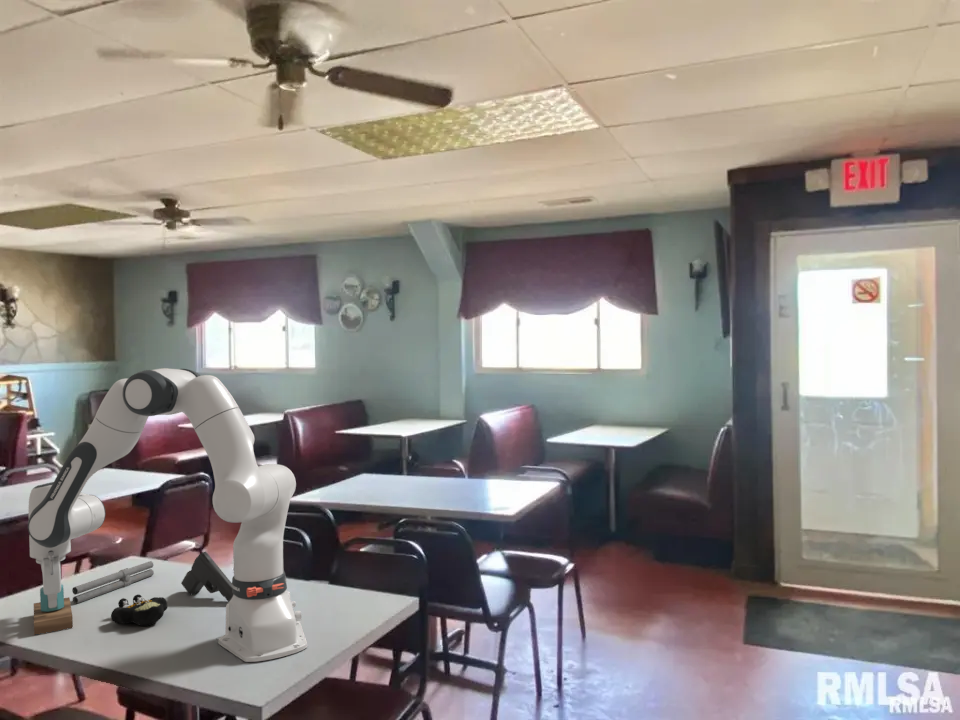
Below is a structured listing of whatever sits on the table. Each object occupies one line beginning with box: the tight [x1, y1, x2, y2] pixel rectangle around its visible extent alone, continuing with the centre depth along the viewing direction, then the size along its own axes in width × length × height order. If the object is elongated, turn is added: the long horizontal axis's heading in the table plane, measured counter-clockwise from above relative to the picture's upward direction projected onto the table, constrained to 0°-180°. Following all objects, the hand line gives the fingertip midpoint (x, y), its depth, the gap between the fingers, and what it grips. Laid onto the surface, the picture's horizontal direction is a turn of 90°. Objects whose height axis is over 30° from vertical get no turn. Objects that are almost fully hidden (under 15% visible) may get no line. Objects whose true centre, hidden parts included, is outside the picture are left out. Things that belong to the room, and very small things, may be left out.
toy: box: [110, 594, 168, 627], centre depth 182 cm, size 12×8×15 cm
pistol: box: [181, 551, 233, 603], centre depth 198 cm, size 18×4×13 cm
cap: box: [39, 583, 65, 612], centre depth 183 cm, size 5×5×5 cm
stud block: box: [33, 597, 74, 636], centre depth 183 cm, size 16×8×8 cm, turn 32°
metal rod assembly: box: [71, 560, 155, 605], centre depth 207 cm, size 26×3×5 cm, turn 157°
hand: (52, 602), depth 183 cm, fingers open, 7 cm apart
